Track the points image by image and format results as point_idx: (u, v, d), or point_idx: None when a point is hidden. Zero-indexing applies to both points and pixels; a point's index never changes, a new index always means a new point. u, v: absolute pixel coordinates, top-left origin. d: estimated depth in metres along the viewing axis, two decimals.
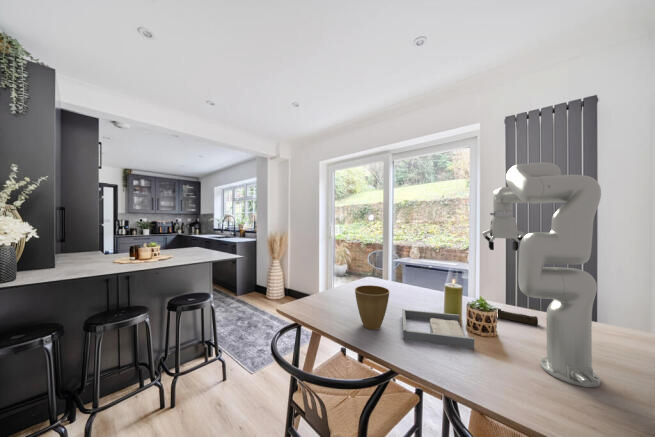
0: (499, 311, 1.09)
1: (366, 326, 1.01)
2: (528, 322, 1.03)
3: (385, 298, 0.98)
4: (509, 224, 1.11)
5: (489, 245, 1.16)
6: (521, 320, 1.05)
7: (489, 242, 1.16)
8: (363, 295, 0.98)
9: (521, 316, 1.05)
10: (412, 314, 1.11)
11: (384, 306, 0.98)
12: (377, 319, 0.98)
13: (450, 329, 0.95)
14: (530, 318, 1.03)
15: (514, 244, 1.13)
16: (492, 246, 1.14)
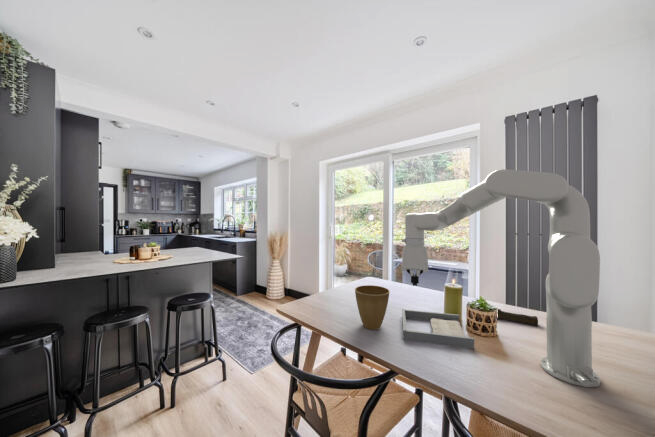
0: (499, 312, 1.09)
1: (366, 326, 1.01)
2: (528, 322, 1.03)
3: (385, 298, 0.98)
4: (419, 254, 0.98)
5: (411, 279, 1.01)
6: (521, 320, 1.04)
7: (411, 276, 1.01)
8: (363, 295, 0.98)
9: (521, 316, 1.05)
10: (412, 314, 1.11)
11: (384, 306, 0.98)
12: (377, 319, 0.98)
13: (450, 329, 0.95)
14: (530, 318, 1.03)
15: None
16: (413, 281, 1.00)
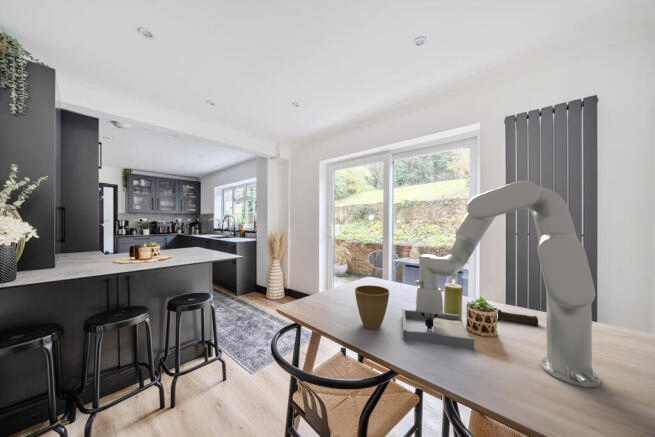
0: (500, 312, 1.08)
1: (366, 326, 1.01)
2: (529, 322, 1.03)
3: (385, 298, 0.98)
4: (434, 297, 0.96)
5: (425, 322, 0.99)
6: (522, 320, 1.04)
7: (425, 319, 0.99)
8: (363, 295, 0.98)
9: (522, 316, 1.04)
10: (412, 314, 1.11)
11: (384, 306, 0.98)
12: (377, 319, 0.98)
13: (453, 329, 0.94)
14: (530, 318, 1.03)
15: (429, 321, 0.99)
16: (427, 325, 0.98)
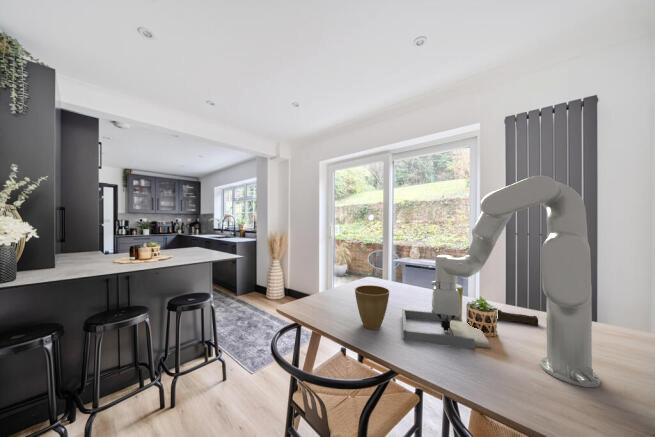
0: (500, 312, 1.08)
1: (366, 326, 1.01)
2: (529, 322, 1.03)
3: (385, 298, 0.98)
4: (451, 299, 0.94)
5: (441, 324, 0.98)
6: (522, 320, 1.04)
7: (441, 320, 0.98)
8: (363, 295, 0.98)
9: (522, 316, 1.04)
10: (412, 314, 1.11)
11: (384, 306, 0.98)
12: (377, 319, 0.98)
13: (471, 332, 0.92)
14: (531, 318, 1.03)
15: None
16: (444, 326, 0.96)
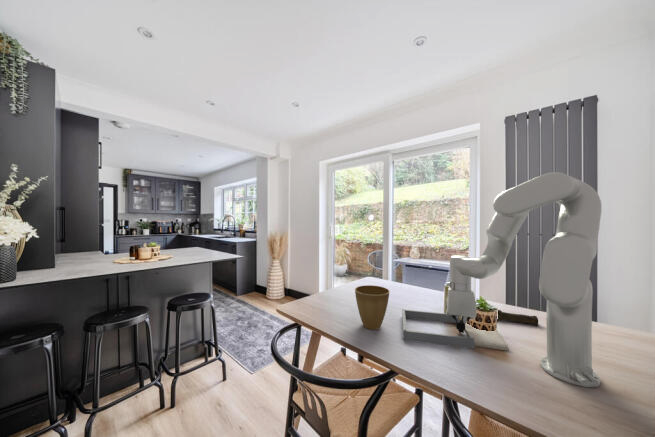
0: (500, 313, 1.08)
1: (366, 326, 1.01)
2: (529, 322, 1.03)
3: (385, 298, 0.98)
4: (466, 300, 0.93)
5: (456, 326, 0.96)
6: (522, 320, 1.04)
7: (456, 322, 0.96)
8: (363, 295, 0.98)
9: (522, 316, 1.04)
10: (412, 314, 1.11)
11: (384, 306, 0.98)
12: (377, 319, 0.98)
13: (487, 334, 0.91)
14: (531, 318, 1.03)
15: None
16: (459, 328, 0.95)
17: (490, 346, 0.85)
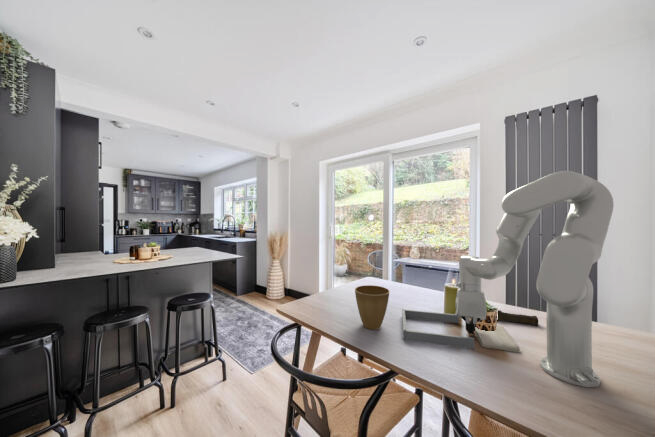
0: (500, 313, 1.07)
1: (366, 326, 1.01)
2: (529, 322, 1.03)
3: (385, 298, 0.98)
4: (476, 301, 0.92)
5: (466, 327, 0.95)
6: (522, 321, 1.04)
7: (466, 323, 0.95)
8: (363, 295, 0.98)
9: (522, 317, 1.04)
10: (412, 314, 1.11)
11: (384, 306, 0.98)
12: (377, 319, 0.98)
13: (498, 335, 0.89)
14: (531, 318, 1.03)
15: None
16: (469, 329, 0.94)
17: (501, 347, 0.84)
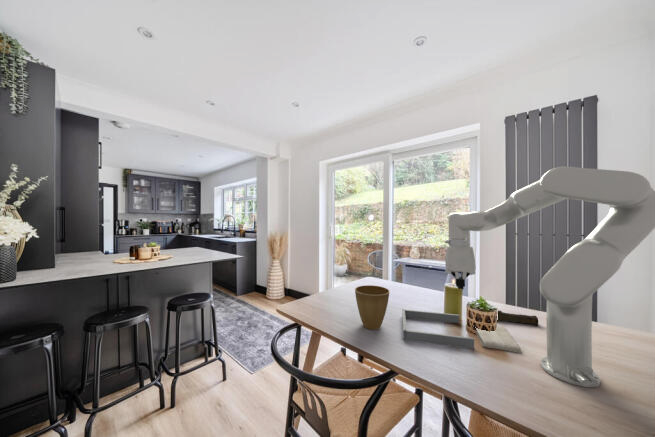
0: (501, 313, 1.07)
1: (366, 326, 1.01)
2: (529, 322, 1.03)
3: (385, 298, 0.98)
4: (465, 255, 0.93)
5: (456, 283, 0.96)
6: (522, 321, 1.04)
7: (456, 279, 0.96)
8: (363, 295, 0.98)
9: (522, 317, 1.04)
10: (412, 314, 1.11)
11: (384, 306, 0.98)
12: (377, 319, 0.98)
13: (499, 336, 0.89)
14: (531, 318, 1.03)
15: None
16: (459, 284, 0.94)
17: (502, 348, 0.84)
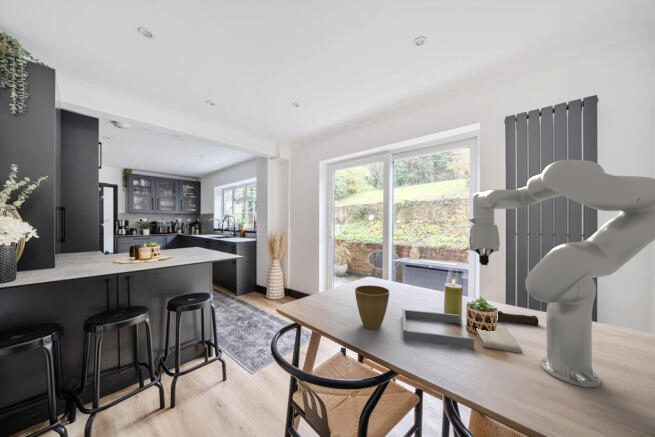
0: (501, 314, 1.06)
1: (366, 326, 1.01)
2: (529, 322, 1.03)
3: (385, 298, 0.98)
4: (490, 232, 0.97)
5: (480, 259, 1.00)
6: (523, 321, 1.04)
7: (480, 256, 1.00)
8: (363, 295, 0.98)
9: (522, 317, 1.04)
10: (412, 314, 1.11)
11: (384, 306, 0.98)
12: (377, 319, 0.98)
13: (500, 336, 0.89)
14: (531, 318, 1.03)
15: None
16: (483, 261, 0.99)
17: (502, 348, 0.84)
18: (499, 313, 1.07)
